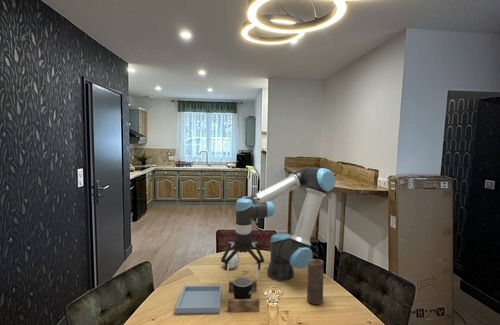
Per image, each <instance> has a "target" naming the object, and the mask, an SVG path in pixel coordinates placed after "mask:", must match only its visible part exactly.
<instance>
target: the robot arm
mask: <svg viewBox="0 0 500 325" xmlns="http://www.w3.org/2000/svg"><path fill="white" fill-rule="evenodd" d="M335 185H336V176H335V174H334V173H333V171H332V170H330V169H329V168H324V167H313V166H307V167H302V168H300V169H298V170H296V171H293V172H292V173H289V175H288V177H286V178H283V179H282V180H280V181H277V182H276V183H273V184H272V185H270V186H268V187H267V188H264V189H262V190H261V191H258V192H256V193H255V194H252V195H250V196H242V197H241V198H238V199H237V200H236V203H235V224H234V225H235V233H234V234H235V235H234V236H235V239H234V242H232V241H228V245H227V247H226V249H225V251H224V253H223V255H222V257H221V260H220V262H221V263H223V264H224V263H225V265H224V271H226V272H227V273H226V278H228V279H229V277H230V269H229V261H230V260H231V259H232V257H233V256H234V255H235V254H236V253H237V252H238V253H245V254H246V253H249V254H250V255H251V256H252V258H253V259H254V260H255V278H256V279H258V278H259V271H260V270H261V264H262V263H265V258H264V257H263V254H262V252H261V250H260V248H259V244H258V241H254V242H252V223H253V222H252V221H253V220H255V219H263V218H271V217H273V216H274V214H275V206H274V203H273V201H274V200H276V199H278V198H280V197H281V196H284V195H285V194H288V193H289V192H291V191H293V190H299V189H301V188H305V190H306V192H307V193H306V196H305V199H304V201H303V204H302V208H301V211H300V215H299V217H298V221H297V224H296V228H295V230H294V233H293V235H292V234H289V233H275V234H273V235H271V237H270V260H269V264H268V266H267V270H266V272H267V277H269V278H270V279H272V280H275V281H288V280H291V279H293V278H294V276H295V271H294V268H295V269H298V270H304V269H305V268H306V267H307V268H308V261H309V260H310V259H313V251H312V249H311V246H312V243H311V241H310V240H311V238H312V237H311V236H312V233H313V230H314V228H315V224H316V221H317V218H318V214H319V211H320V208H321V205H322V204H321V203H322V202H323V199H324V197H326V196H328V193H329V192H330V191H332V190H333V189H334V187H335ZM252 246H253V248H255V250H256V252H257V254H258V256H257V254H256V253H255V251H254V250H253V249H252ZM233 247H235V248H234V249H233V250H232V251H231V252H232V253H231V254H230V255H229V256H228V257H227V259H225V258H226V256H227V254H228V253H229V252H230V250H231V248H233Z"/></svg>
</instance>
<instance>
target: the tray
mask: <svg viewBox="0 0 500 325" xmlns="http://www.w3.org/2000/svg"><path fill="white" fill-rule="evenodd" d="M181 290H182V291H181V293H180V295H179V298H178V301H177V303H176V305H175V316H182V315H184V316H187V315H188V314H189V315H191V314H192V315H220V313H221V304H222V303H221V302H222V294H223V285H222V284H217V285H215V284H212V285H210V284H207V285H206V284H205V285H184V286H183V288H182V289H181ZM189 315H188V316H189Z"/></svg>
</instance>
